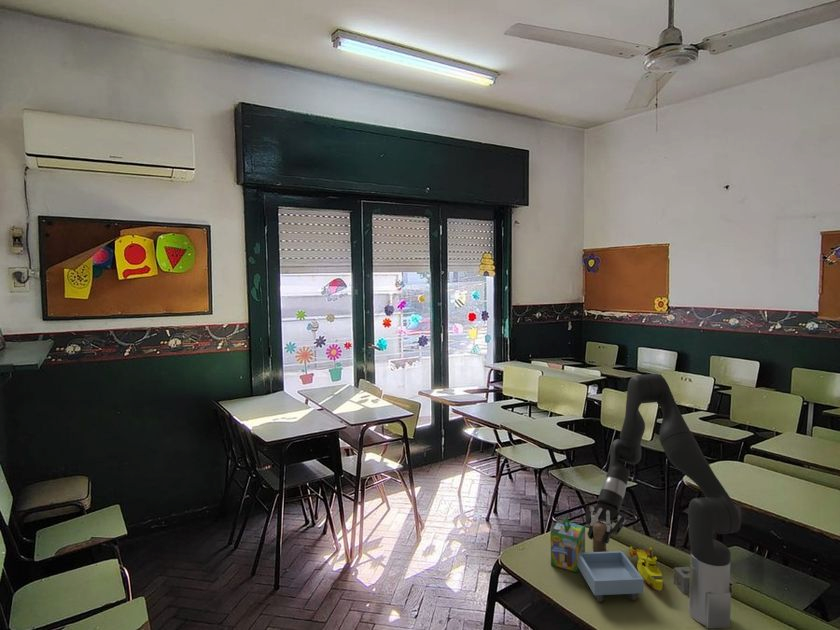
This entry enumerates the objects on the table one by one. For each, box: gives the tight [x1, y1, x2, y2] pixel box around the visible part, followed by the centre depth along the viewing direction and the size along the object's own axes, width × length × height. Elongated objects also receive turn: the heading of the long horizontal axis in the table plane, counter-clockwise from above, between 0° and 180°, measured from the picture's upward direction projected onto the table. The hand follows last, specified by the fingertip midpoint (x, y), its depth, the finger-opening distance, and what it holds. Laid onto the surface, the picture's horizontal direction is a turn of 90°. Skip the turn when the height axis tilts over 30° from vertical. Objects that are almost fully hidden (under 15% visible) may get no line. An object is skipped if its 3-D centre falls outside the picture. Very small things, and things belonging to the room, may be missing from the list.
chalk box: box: [550, 514, 586, 574], centre depth 160 cm, size 9×9×15 cm
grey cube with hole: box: [672, 566, 690, 595], centre depth 147 cm, size 5×5×5 cm
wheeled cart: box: [577, 550, 645, 603], centre depth 147 cm, size 14×14×7 cm
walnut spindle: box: [592, 521, 607, 552], centre depth 167 cm, size 4×4×9 cm
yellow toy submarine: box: [629, 546, 664, 591], centre depth 151 cm, size 6×18×10 cm, turn 174°
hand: (597, 540), depth 166 cm, fingers closed on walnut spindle, 4 cm apart
